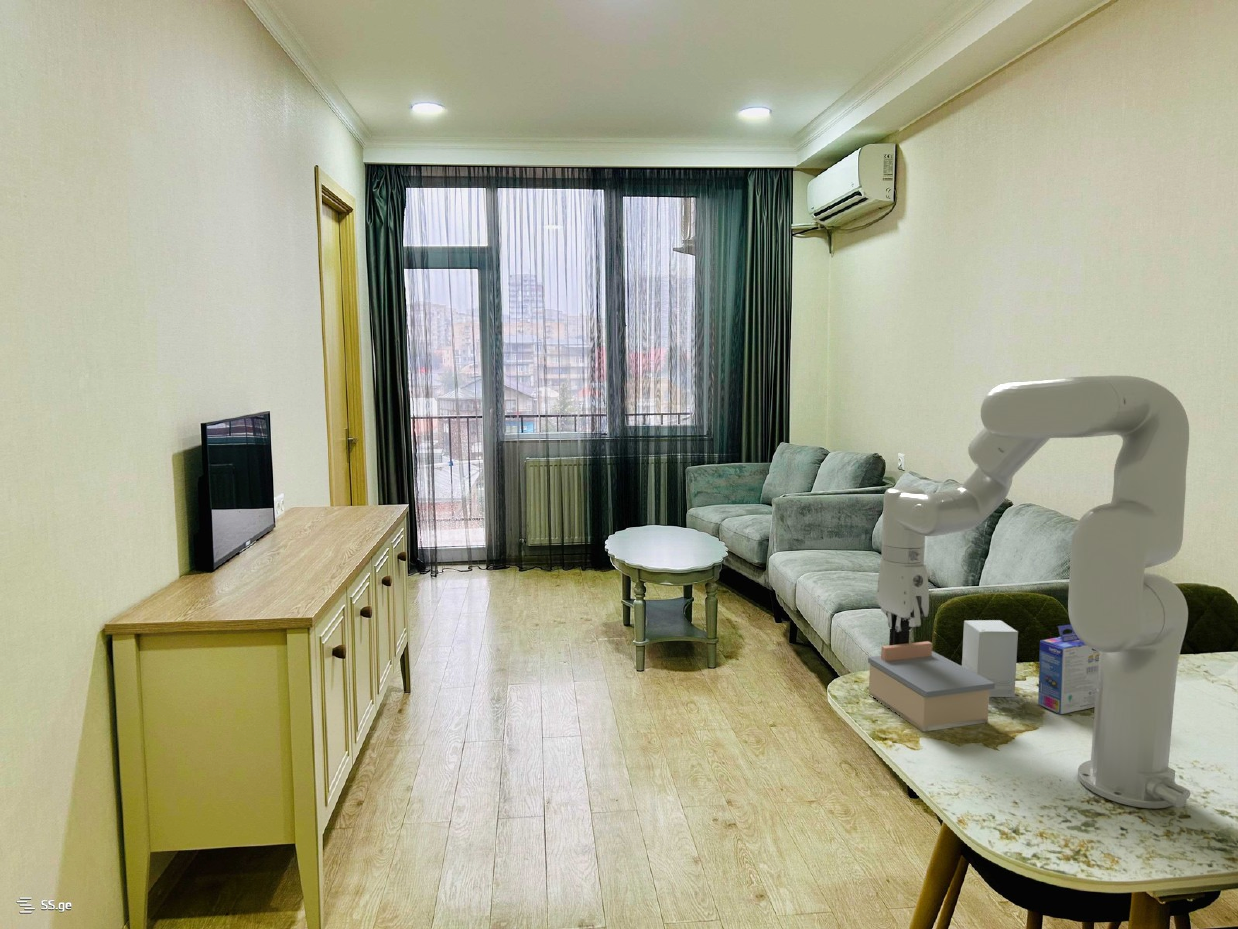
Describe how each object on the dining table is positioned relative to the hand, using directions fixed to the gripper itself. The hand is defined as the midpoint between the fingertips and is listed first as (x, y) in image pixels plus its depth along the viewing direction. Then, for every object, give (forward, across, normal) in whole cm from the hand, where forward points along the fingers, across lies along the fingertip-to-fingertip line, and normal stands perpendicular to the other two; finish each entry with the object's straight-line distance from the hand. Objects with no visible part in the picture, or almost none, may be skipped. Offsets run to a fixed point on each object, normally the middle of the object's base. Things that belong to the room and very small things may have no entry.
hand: (898, 649), depth 155 cm
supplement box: (+8, -4, -16) cm, 19 cm away
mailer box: (+8, -9, 0) cm, 12 cm away
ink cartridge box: (+8, -14, -26) cm, 30 cm away
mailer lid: (+2, -9, 0) cm, 9 cm away
